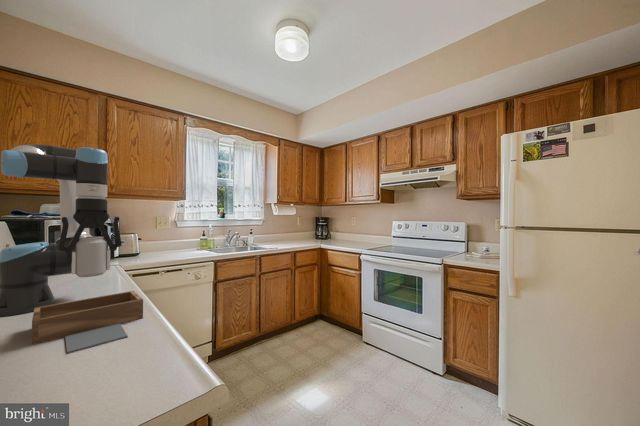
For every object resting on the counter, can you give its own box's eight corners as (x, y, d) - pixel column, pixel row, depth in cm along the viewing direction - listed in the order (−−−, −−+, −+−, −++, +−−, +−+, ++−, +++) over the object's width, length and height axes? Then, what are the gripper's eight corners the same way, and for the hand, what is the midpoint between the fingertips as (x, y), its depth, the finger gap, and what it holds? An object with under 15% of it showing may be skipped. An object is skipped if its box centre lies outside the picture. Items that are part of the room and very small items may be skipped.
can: (88, 278, 77) (88, 238, 77) (68, 277, 79) (68, 237, 79) (112, 272, 85) (113, 235, 85) (94, 271, 86) (94, 235, 86)
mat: (65, 337, 72) (65, 336, 72) (119, 324, 80) (119, 323, 80) (66, 353, 63) (66, 352, 63) (127, 337, 72) (127, 335, 72)
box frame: (34, 327, 78) (34, 307, 78) (133, 307, 95) (133, 290, 95) (31, 344, 68) (31, 321, 68) (143, 318, 85) (143, 299, 85)
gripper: (44, 196, 72) (43, 279, 72) (133, 199, 86) (133, 268, 86) (45, 197, 77) (44, 274, 77) (129, 199, 92) (128, 265, 92)
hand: (91, 271), depth 82 cm, fingers closed on can, 7 cm apart
